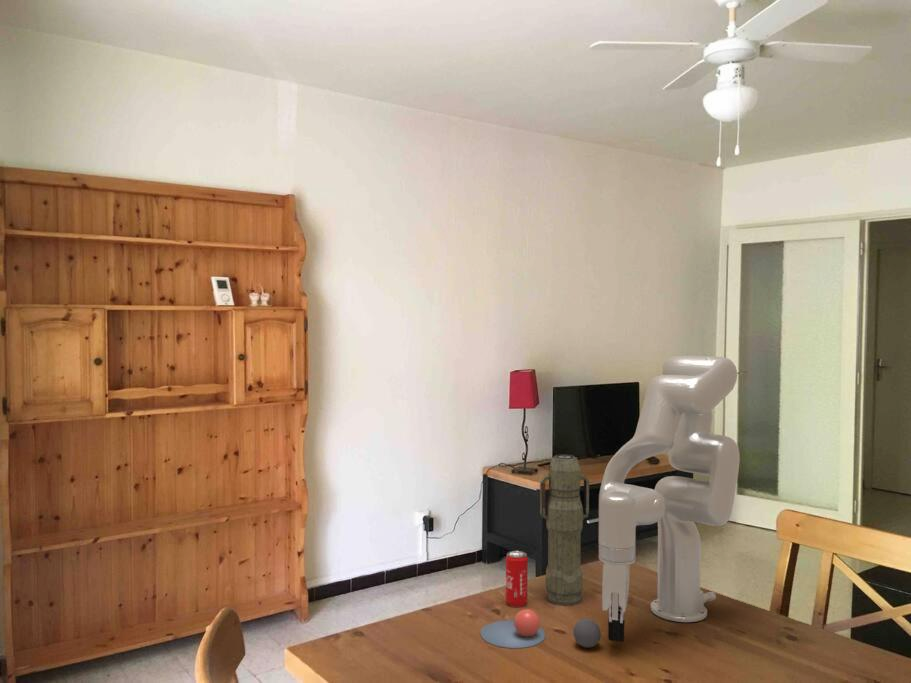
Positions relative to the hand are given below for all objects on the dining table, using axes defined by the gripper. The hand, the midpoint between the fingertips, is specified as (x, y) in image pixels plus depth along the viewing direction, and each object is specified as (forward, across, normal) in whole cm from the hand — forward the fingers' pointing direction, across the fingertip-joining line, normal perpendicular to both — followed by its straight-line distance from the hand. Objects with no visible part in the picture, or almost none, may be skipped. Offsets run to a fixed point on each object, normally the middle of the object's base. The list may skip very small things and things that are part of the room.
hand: (616, 639), depth 153 cm
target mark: (+2, 0, -22) cm, 22 cm away
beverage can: (+2, -17, -25) cm, 30 cm away
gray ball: (-1, +2, -6) cm, 6 cm away
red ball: (-1, 0, -19) cm, 19 cm away
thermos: (+2, -24, -14) cm, 27 cm away
